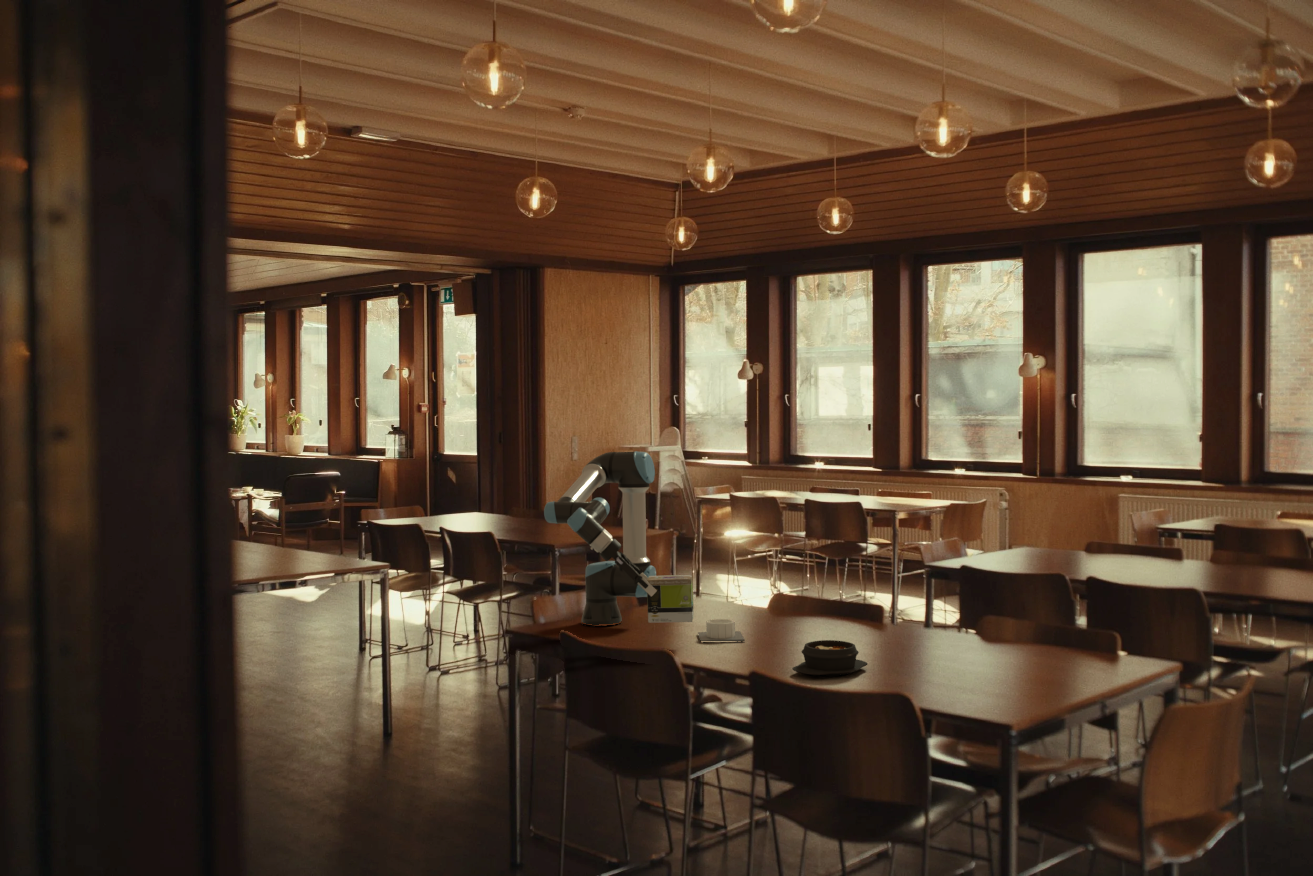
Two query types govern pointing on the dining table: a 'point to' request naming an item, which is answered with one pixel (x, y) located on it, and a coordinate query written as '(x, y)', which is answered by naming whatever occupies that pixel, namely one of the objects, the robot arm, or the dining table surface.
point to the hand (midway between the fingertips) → (653, 591)
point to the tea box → (671, 599)
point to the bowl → (720, 631)
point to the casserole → (829, 658)
